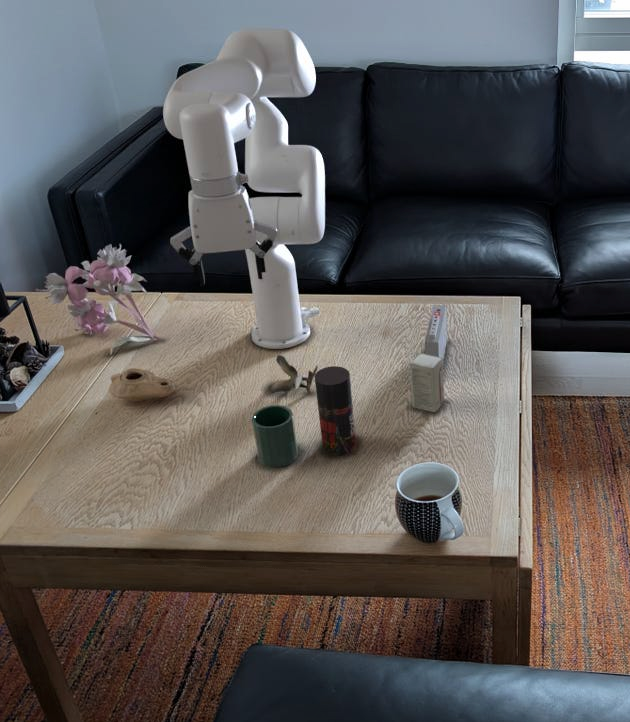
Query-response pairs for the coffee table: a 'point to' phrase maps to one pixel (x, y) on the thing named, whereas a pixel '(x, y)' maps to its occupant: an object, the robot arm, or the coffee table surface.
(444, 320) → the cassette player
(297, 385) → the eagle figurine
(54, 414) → the coffee table surface
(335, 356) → the coffee table surface
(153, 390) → the pottery oil lamp
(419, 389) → the beige box
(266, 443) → the pot
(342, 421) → the deodorant
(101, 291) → the flower
